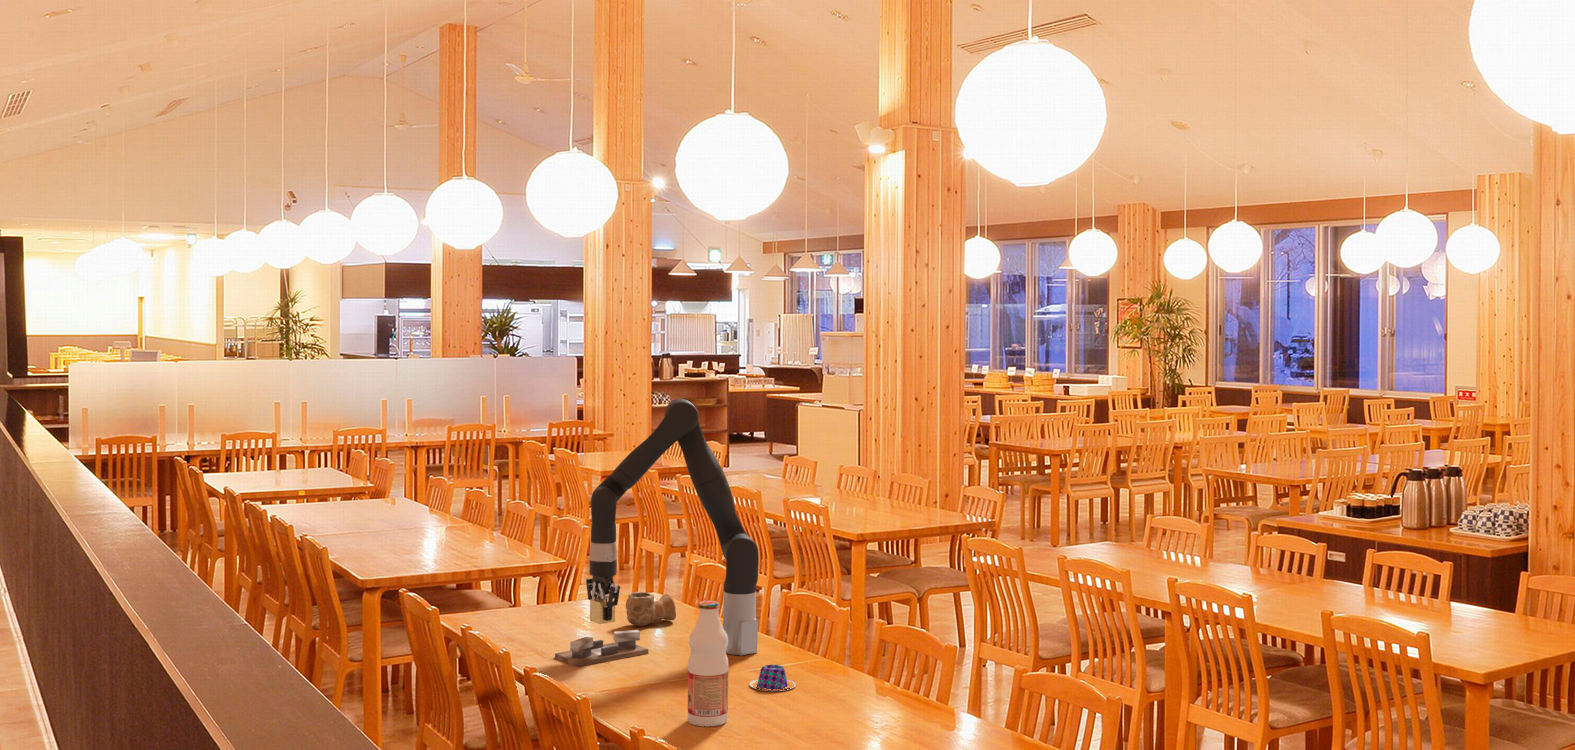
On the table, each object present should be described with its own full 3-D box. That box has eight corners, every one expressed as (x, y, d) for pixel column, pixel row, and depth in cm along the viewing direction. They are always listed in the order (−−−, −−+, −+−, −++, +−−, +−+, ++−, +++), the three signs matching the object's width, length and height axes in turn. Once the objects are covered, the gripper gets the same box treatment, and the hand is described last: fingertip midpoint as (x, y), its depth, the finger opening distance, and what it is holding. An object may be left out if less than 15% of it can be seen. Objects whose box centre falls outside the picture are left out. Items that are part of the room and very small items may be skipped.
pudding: (804, 685, 330) (804, 665, 330) (780, 696, 320) (781, 675, 320) (764, 678, 336) (765, 658, 336) (740, 689, 326) (740, 668, 326)
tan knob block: (614, 621, 355) (615, 599, 355) (599, 624, 351) (599, 601, 351) (605, 618, 359) (605, 596, 358) (589, 620, 355) (590, 598, 355)
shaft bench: (648, 653, 358) (648, 632, 358) (578, 666, 343) (578, 645, 343) (624, 644, 367) (624, 624, 367) (554, 657, 352) (555, 636, 352)
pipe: (680, 623, 395) (680, 591, 395) (637, 631, 384) (637, 598, 384) (663, 618, 402) (663, 586, 401) (620, 625, 391) (620, 593, 391)
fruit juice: (706, 730, 291) (708, 608, 290) (679, 721, 298) (680, 602, 297) (736, 721, 298) (737, 602, 297) (708, 712, 305) (709, 596, 304)
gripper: (577, 555, 357) (577, 615, 358) (606, 563, 346) (605, 625, 347) (600, 552, 362) (599, 612, 363) (629, 560, 351) (628, 621, 352)
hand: (602, 618), depth 355 cm, fingers closed on tan knob block, 5 cm apart
